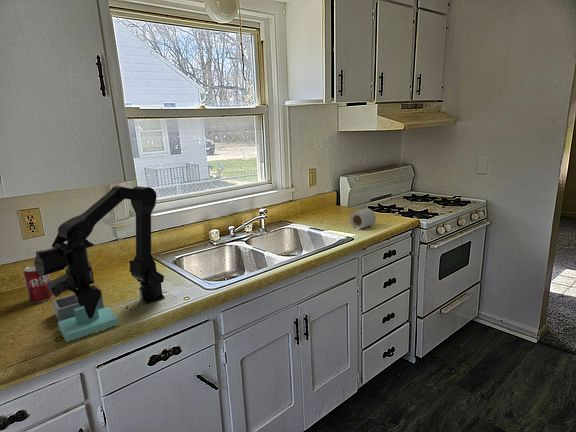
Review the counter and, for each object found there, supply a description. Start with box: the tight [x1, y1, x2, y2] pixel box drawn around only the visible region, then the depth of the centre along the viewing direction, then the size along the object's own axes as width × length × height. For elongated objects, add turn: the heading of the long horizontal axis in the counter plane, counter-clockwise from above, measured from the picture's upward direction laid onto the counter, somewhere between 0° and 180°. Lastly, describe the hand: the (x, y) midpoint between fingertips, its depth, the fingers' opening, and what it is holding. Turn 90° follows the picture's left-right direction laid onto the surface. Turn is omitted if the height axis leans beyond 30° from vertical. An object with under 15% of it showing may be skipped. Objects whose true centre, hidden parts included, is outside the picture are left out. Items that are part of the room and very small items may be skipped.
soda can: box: [22, 264, 54, 304], centre depth 137 cm, size 7×7×12 cm
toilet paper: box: [349, 208, 377, 230], centre depth 213 cm, size 10×10×10 cm
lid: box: [57, 306, 119, 343], centre depth 117 cm, size 14×10×7 cm
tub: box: [52, 293, 105, 322], centre depth 127 cm, size 13×9×5 cm
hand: (86, 312), depth 117 cm, fingers open, 9 cm apart
